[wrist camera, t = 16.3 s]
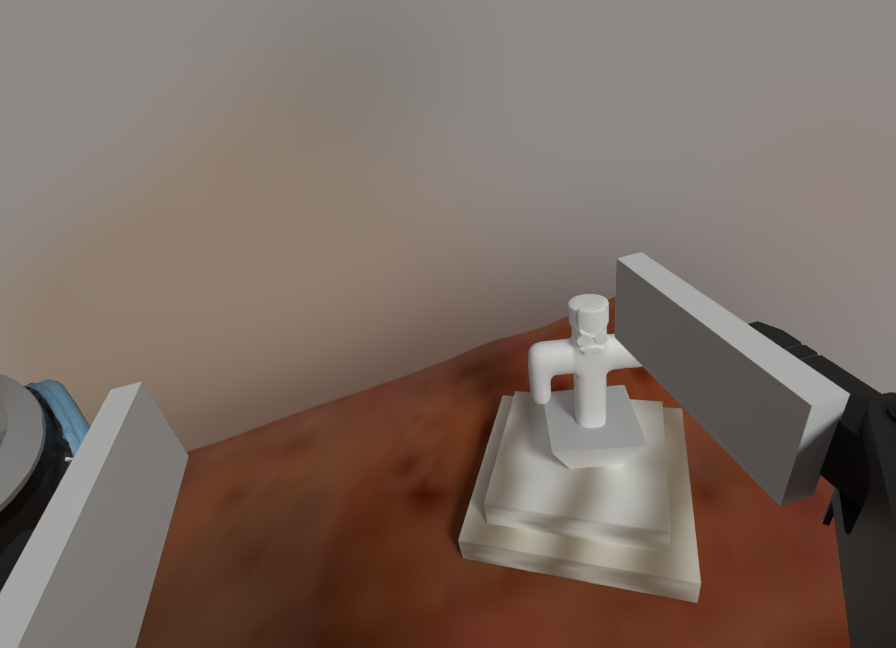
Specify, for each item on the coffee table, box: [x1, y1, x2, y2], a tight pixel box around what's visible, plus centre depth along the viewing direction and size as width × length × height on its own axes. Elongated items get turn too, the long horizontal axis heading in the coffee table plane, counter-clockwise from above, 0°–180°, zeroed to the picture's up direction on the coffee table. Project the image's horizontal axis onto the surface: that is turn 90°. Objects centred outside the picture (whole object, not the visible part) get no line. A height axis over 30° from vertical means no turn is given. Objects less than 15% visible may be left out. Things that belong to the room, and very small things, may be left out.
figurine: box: [528, 294, 648, 469], centre depth 40 cm, size 7×9×15 cm
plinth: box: [458, 391, 701, 603], centre depth 45 cm, size 18×18×5 cm
